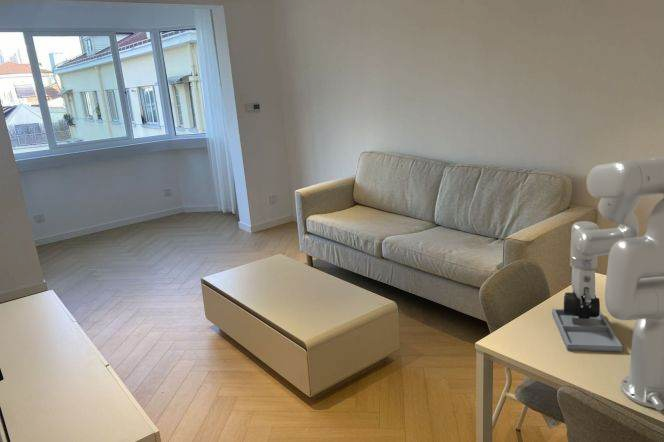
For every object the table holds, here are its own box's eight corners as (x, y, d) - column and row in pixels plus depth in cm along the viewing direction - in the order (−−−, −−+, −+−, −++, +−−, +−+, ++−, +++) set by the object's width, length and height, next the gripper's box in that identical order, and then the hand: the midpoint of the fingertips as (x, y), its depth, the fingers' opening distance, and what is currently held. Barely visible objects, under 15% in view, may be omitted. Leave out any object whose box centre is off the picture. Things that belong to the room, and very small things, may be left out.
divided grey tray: (621, 352, 143) (622, 346, 142) (567, 350, 146) (567, 344, 146) (599, 314, 164) (599, 309, 163) (552, 314, 167) (552, 308, 167)
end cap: (563, 319, 158) (564, 300, 156) (562, 308, 164) (563, 290, 162) (599, 322, 154) (600, 302, 152) (596, 311, 160) (597, 292, 158)
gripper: (605, 272, 145) (601, 325, 150) (589, 250, 161) (586, 299, 166) (577, 272, 146) (574, 325, 152) (564, 251, 163) (562, 299, 168)
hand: (580, 311), depth 159 cm, fingers closed on end cap, 7 cm apart
